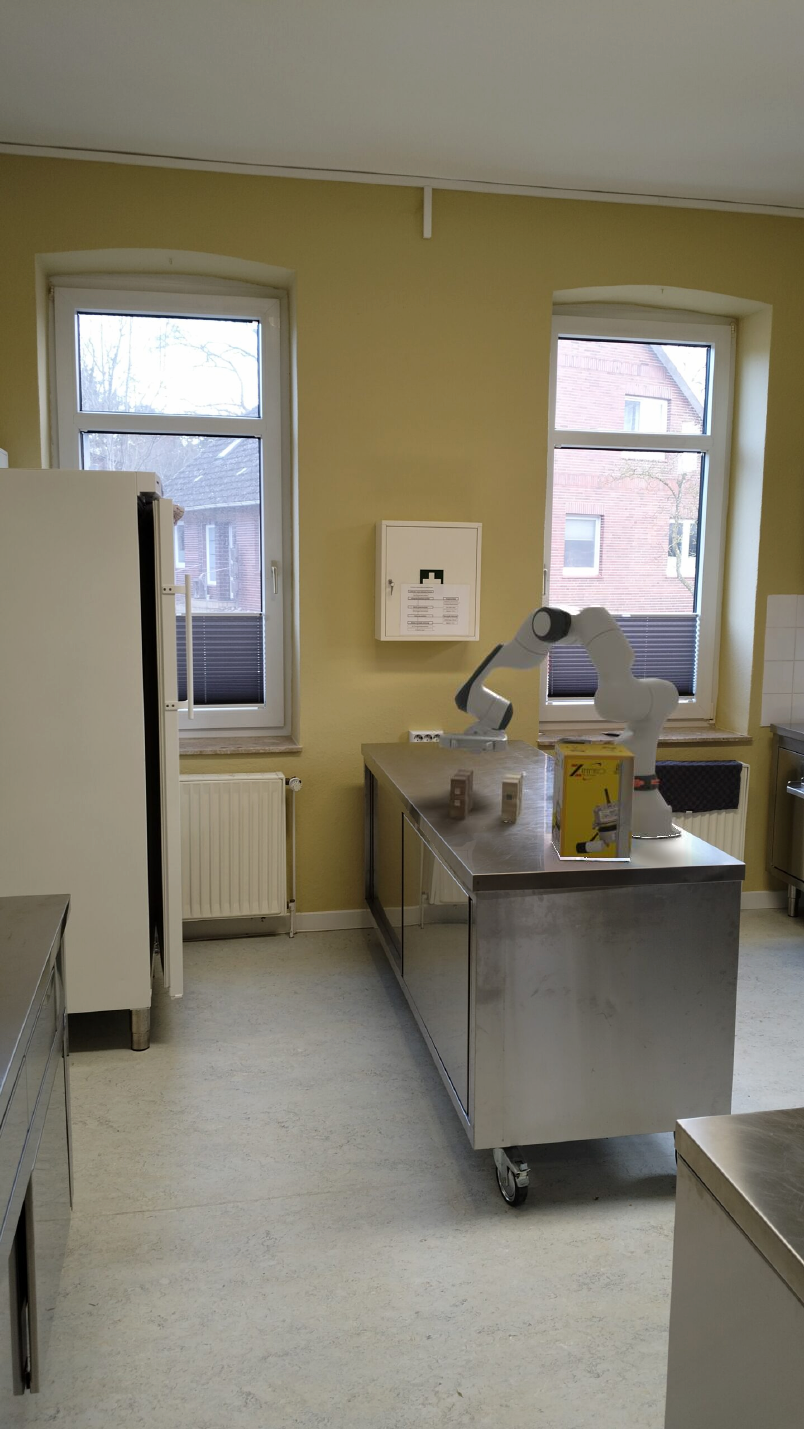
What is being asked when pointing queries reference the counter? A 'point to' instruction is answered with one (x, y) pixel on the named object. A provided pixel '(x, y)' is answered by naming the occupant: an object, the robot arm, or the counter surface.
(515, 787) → the maple tile one
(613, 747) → the packaging box
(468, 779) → the walnut tile two
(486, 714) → the robot arm
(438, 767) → the counter surface
